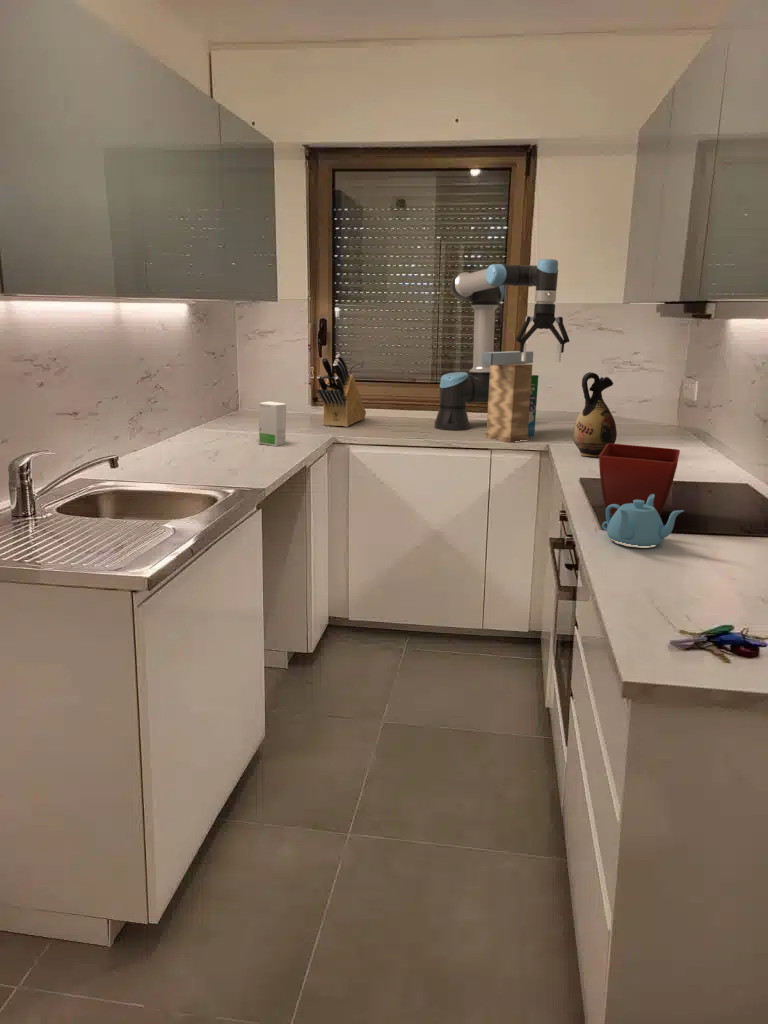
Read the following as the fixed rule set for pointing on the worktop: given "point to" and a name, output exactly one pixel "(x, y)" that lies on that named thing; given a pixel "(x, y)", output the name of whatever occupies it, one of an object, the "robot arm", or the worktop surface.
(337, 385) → the knife block
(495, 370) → the oak box
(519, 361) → the foil box
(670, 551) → the worktop surface
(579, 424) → the ceramic jug
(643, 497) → the plant pot
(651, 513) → the teapot
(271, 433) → the skincare box
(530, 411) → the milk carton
